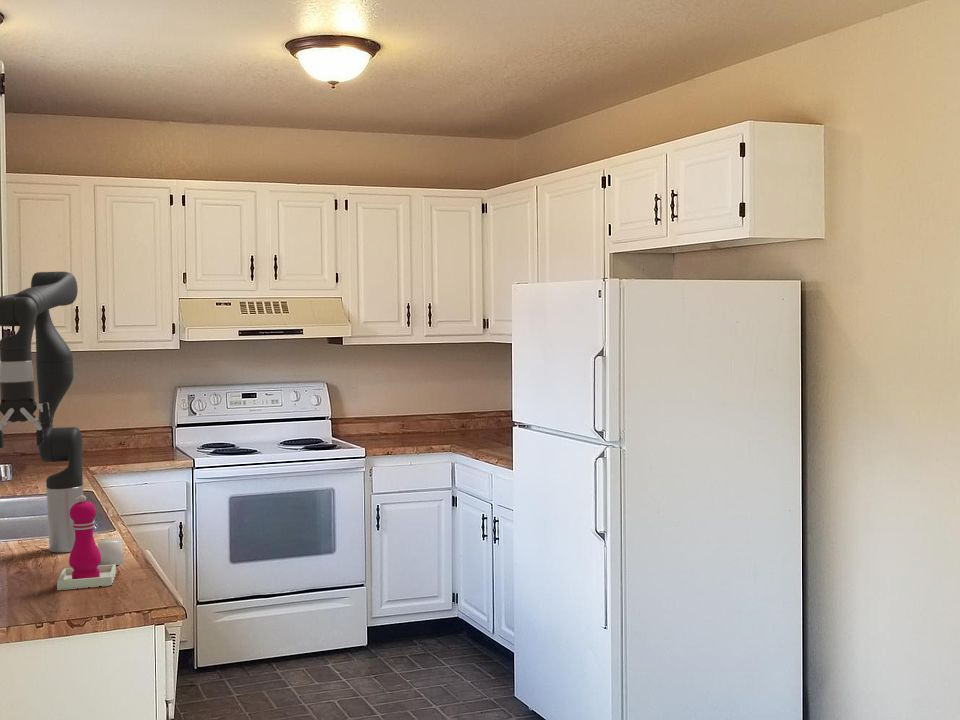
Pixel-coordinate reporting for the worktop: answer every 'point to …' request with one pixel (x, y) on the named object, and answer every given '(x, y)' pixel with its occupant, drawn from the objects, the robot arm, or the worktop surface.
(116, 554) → the grey rounded block
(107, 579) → the tray
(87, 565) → the pepper mill
